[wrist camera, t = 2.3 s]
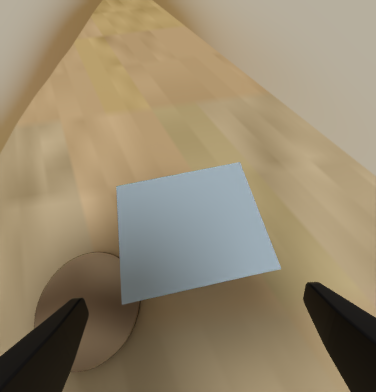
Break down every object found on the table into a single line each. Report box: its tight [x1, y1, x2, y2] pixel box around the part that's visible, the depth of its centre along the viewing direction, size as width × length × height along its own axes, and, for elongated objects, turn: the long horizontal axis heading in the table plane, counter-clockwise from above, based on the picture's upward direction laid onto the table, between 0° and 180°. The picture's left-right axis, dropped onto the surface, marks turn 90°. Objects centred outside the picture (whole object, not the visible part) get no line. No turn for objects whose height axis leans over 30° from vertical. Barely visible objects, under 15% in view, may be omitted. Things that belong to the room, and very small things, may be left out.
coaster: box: [34, 252, 140, 372], centre depth 17 cm, size 9×9×1 cm
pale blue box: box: [116, 162, 281, 305], centre depth 13 cm, size 5×6×12 cm
